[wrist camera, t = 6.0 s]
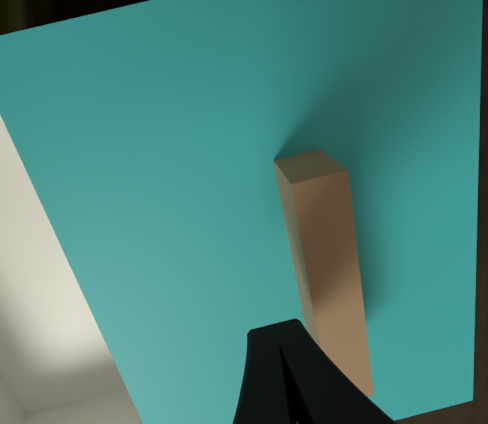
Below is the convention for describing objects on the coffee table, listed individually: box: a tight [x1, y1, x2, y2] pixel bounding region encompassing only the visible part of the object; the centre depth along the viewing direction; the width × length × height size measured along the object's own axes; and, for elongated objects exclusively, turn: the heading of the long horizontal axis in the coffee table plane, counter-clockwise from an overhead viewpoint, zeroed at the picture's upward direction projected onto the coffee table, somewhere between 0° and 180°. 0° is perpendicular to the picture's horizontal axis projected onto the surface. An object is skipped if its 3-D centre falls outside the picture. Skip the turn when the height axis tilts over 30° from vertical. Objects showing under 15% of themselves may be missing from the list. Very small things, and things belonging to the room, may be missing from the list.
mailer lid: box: [0, 0, 483, 424], centre depth 13 cm, size 14×18×3 cm
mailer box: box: [0, 115, 143, 424], centre depth 16 cm, size 14×18×5 cm
